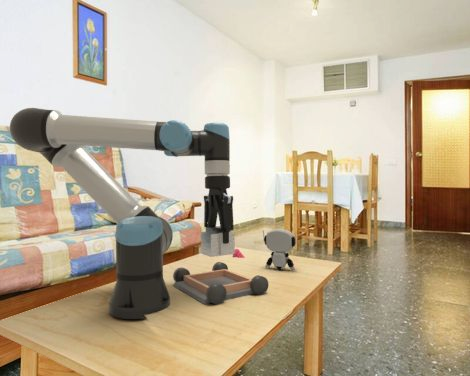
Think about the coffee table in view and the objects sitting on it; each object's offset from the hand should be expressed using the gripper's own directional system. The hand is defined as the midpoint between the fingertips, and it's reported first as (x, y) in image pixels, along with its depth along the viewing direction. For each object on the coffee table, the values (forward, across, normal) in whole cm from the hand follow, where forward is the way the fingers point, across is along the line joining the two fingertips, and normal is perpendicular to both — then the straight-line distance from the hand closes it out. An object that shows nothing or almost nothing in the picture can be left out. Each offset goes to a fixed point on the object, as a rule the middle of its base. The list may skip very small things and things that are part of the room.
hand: (218, 252), depth 104 cm
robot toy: (+11, +7, -30) cm, 33 cm away
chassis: (+11, 0, 0) cm, 11 cm away
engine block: (0, 0, 0) cm, 0 cm away
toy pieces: (+11, +29, -30) cm, 43 cm away
